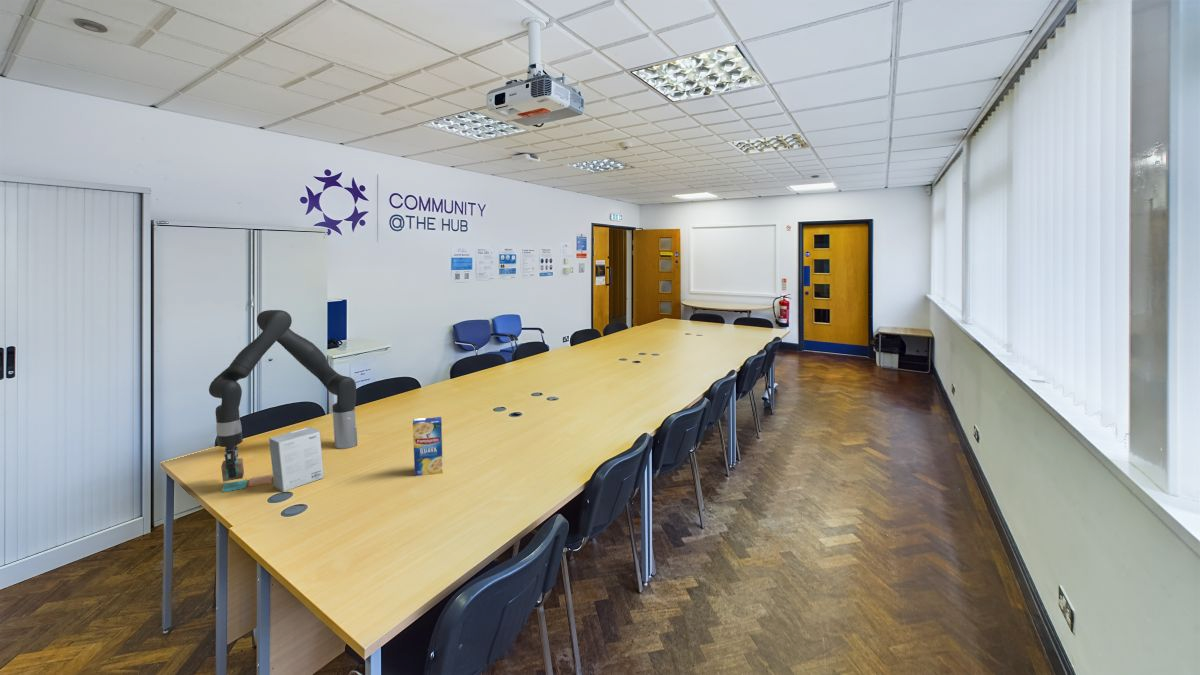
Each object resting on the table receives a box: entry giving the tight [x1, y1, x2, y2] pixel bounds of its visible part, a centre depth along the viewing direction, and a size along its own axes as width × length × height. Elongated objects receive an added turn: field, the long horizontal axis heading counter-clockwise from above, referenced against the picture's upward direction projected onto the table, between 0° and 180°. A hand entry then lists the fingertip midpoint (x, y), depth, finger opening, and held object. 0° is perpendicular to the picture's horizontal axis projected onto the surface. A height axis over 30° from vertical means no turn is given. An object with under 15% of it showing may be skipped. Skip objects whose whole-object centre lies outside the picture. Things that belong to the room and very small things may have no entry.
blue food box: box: [412, 416, 444, 477], centre depth 203 cm, size 7×11×22 cm, turn 107°
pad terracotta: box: [248, 474, 272, 487], centre depth 193 cm, size 7×7×1 cm
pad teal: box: [221, 479, 248, 493], centre depth 188 cm, size 7×7×1 cm
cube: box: [220, 457, 245, 482], centre depth 187 cm, size 6×6×6 cm
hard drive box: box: [268, 426, 325, 492], centre depth 191 cm, size 16×8×20 cm, turn 145°
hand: (233, 473), depth 187 cm, fingers closed on cube, 6 cm apart
